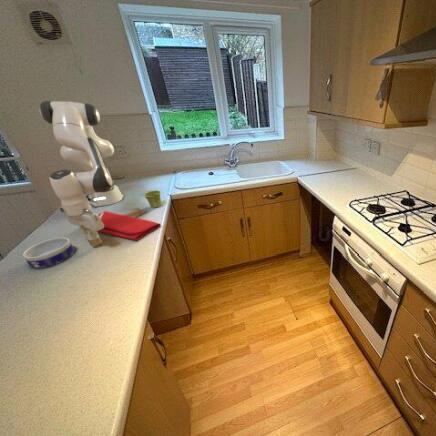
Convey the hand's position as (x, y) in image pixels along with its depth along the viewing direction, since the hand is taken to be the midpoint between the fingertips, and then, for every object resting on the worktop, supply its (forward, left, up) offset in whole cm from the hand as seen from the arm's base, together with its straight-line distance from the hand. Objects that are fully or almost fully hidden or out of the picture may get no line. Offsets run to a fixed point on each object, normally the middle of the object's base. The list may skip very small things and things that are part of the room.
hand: (91, 234), depth 111 cm
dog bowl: (-10, -13, -7) cm, 18 cm away
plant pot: (-11, +43, -7) cm, 45 cm away
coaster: (-14, +30, -7) cm, 33 cm away
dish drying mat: (-6, +16, -7) cm, 19 cm away
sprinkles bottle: (0, 0, -5) cm, 5 cm away
